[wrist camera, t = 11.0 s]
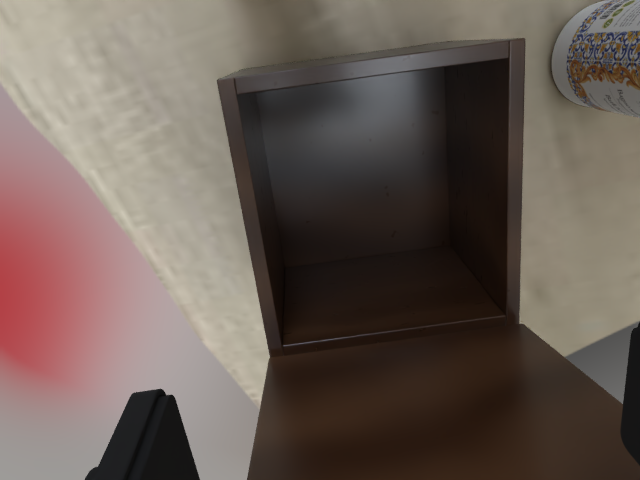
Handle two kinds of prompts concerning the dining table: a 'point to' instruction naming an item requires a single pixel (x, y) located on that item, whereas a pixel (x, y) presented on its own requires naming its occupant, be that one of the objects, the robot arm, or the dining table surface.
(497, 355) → the lid
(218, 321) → the dining table surface
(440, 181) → the chest
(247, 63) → the dining table surface
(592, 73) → the bath foam
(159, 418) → the robot arm
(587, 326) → the dining table surface
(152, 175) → the dining table surface
